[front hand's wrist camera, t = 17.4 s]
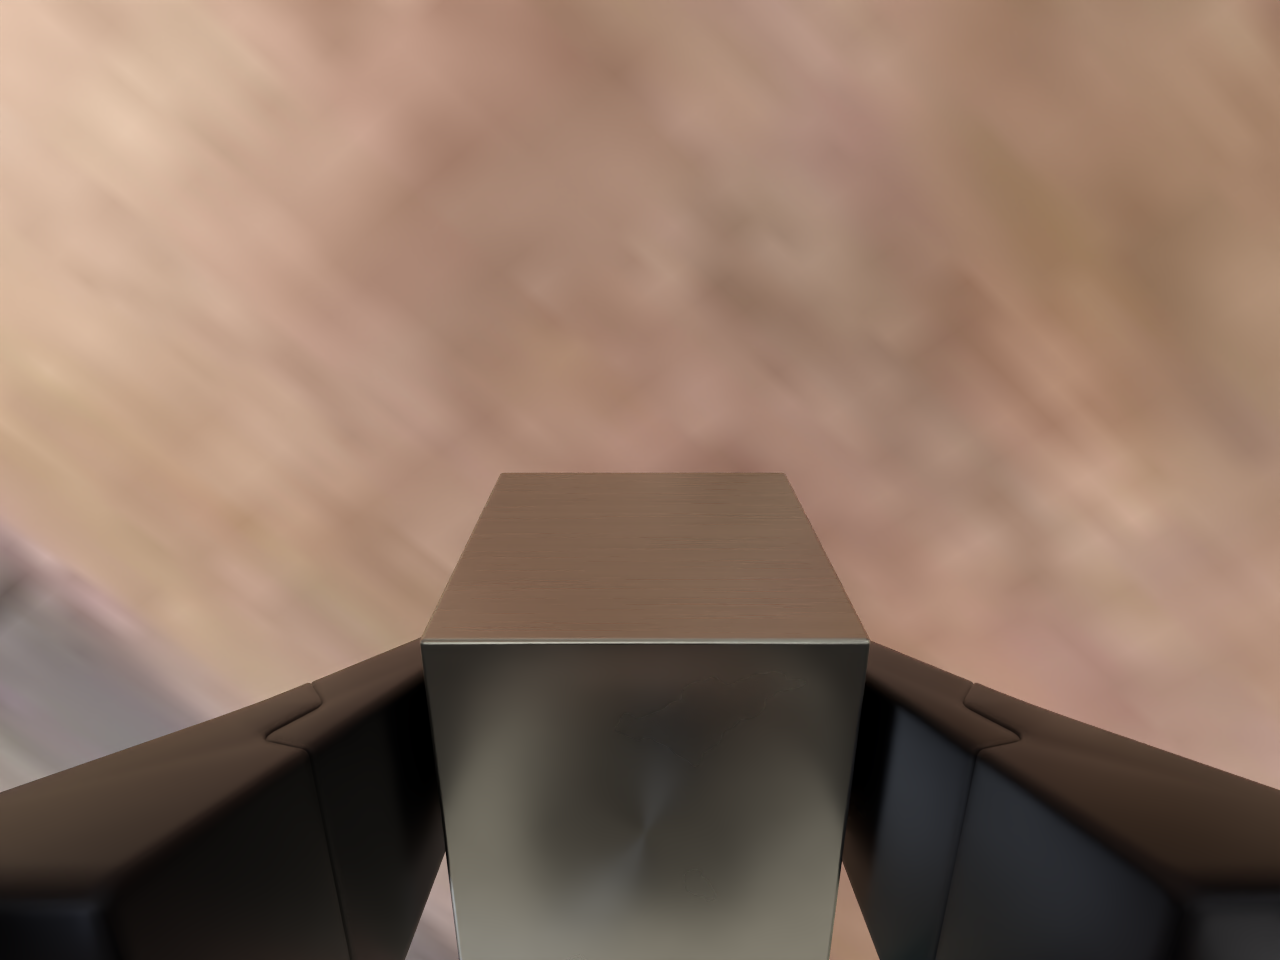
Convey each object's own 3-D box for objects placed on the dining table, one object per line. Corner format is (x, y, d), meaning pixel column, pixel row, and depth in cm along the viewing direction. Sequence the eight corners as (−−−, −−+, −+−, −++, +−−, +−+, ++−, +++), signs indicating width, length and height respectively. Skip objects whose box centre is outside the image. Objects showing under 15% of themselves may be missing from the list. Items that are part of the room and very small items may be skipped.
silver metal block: (500, 471, 12) (418, 640, 7) (785, 471, 12) (872, 639, 7) (518, 729, 14) (461, 987, 9) (765, 729, 14) (827, 987, 9)
